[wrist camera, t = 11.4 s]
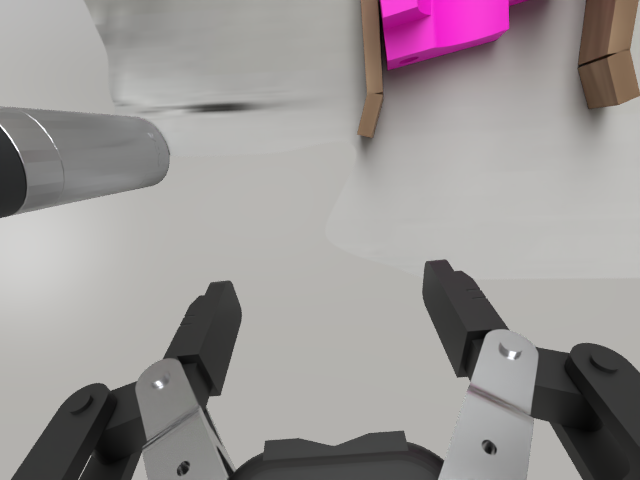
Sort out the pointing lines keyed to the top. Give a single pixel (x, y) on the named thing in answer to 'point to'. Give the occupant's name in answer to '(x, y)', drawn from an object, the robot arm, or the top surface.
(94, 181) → the robot arm
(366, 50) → the cradle
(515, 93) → the top surface
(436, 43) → the magenta saddle bracket
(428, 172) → the top surface
